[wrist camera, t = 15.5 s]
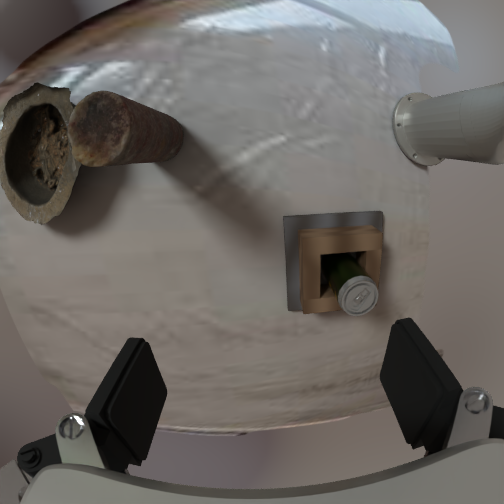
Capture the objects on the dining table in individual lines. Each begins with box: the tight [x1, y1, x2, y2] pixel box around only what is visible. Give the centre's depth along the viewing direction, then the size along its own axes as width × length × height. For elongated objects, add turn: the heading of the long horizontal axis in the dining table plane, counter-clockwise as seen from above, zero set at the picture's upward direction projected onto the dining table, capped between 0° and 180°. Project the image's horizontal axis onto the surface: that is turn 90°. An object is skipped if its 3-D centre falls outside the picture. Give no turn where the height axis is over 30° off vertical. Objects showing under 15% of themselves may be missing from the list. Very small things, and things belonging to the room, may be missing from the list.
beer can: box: [321, 252, 378, 316], centre depth 37 cm, size 5×5×12 cm
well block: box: [283, 211, 383, 314], centre depth 41 cm, size 16×16×6 cm
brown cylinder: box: [68, 91, 183, 167], centre depth 28 cm, size 8×7×20 cm
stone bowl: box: [0, 83, 81, 225], centre depth 34 cm, size 25×25×9 cm
